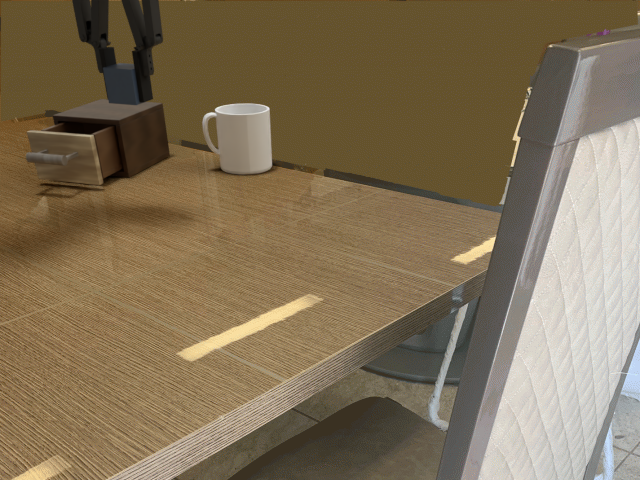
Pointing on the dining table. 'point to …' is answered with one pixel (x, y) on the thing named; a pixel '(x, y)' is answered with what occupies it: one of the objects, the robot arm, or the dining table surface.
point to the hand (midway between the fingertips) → (130, 99)
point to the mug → (241, 138)
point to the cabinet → (127, 130)
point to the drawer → (75, 152)
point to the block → (121, 84)
